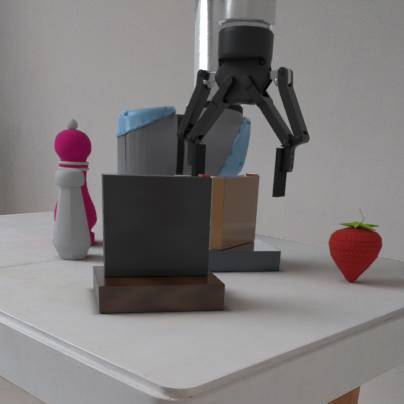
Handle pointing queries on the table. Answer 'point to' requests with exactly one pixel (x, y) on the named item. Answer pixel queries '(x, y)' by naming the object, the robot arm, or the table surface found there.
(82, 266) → the table surface
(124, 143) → the robot arm
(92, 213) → the pepper mill
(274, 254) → the slate stand
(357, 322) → the table surface
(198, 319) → the table surface
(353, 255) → the strawberry
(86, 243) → the salt shaker
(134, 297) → the walnut stand
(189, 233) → the dark grey flat slab
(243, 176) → the tan flat block
